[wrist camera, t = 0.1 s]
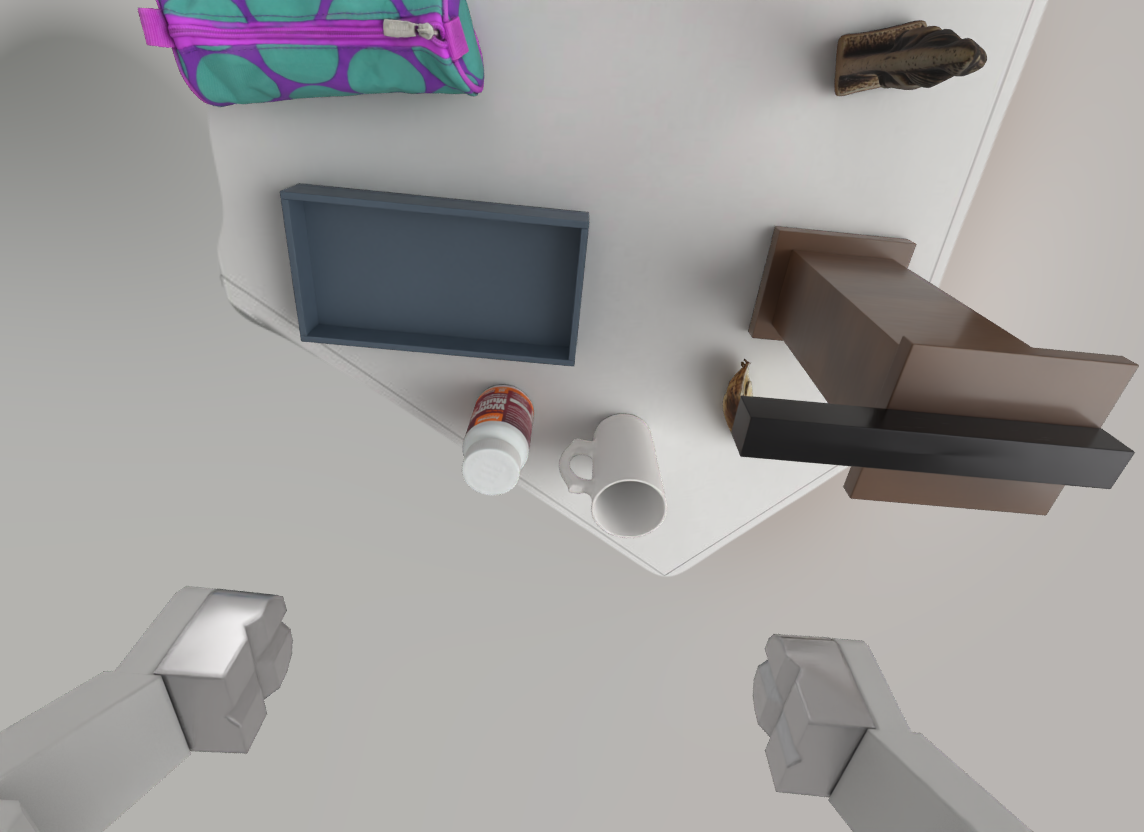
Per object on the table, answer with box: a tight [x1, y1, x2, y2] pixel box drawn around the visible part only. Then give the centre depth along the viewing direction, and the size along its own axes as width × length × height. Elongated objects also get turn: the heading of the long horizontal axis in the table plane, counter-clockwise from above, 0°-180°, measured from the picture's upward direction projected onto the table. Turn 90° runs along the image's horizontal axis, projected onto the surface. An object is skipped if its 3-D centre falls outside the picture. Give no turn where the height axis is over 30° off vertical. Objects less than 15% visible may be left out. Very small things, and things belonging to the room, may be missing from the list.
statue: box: [835, 20, 987, 96], centre depth 38 cm, size 4×7×20 cm, turn 100°
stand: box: [748, 226, 1139, 515], centre depth 45 cm, size 10×12×26 cm
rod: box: [731, 396, 1135, 489], centre depth 32 cm, size 2×20×2 cm, turn 85°
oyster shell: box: [723, 359, 753, 431], centre depth 61 cm, size 6×4×10 cm
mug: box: [559, 414, 667, 538], centre depth 59 cm, size 10×7×12 cm, turn 75°
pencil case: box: [138, 0, 484, 107], centre depth 43 cm, size 21×9×10 cm, turn 93°
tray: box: [280, 183, 589, 366], centre depth 54 cm, size 13×25×4 cm, turn 85°
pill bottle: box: [462, 385, 534, 495], centre depth 58 cm, size 6×6×11 cm
